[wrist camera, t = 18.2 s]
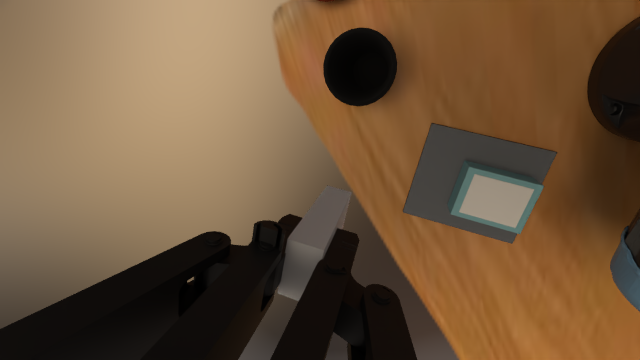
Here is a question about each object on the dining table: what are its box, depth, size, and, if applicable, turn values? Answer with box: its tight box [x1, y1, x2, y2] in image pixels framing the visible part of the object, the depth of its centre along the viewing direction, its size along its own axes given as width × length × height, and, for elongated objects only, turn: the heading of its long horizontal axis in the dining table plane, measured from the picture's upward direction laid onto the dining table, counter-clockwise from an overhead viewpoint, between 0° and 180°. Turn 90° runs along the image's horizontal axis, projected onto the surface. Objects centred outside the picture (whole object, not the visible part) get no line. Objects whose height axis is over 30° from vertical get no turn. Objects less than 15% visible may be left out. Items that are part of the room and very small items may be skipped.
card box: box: [447, 161, 544, 234], centre depth 42 cm, size 4×7×9 cm
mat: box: [403, 123, 557, 244], centre depth 44 cm, size 14×16×1 cm
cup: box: [324, 28, 397, 106], centre depth 37 cm, size 8×8×12 cm
